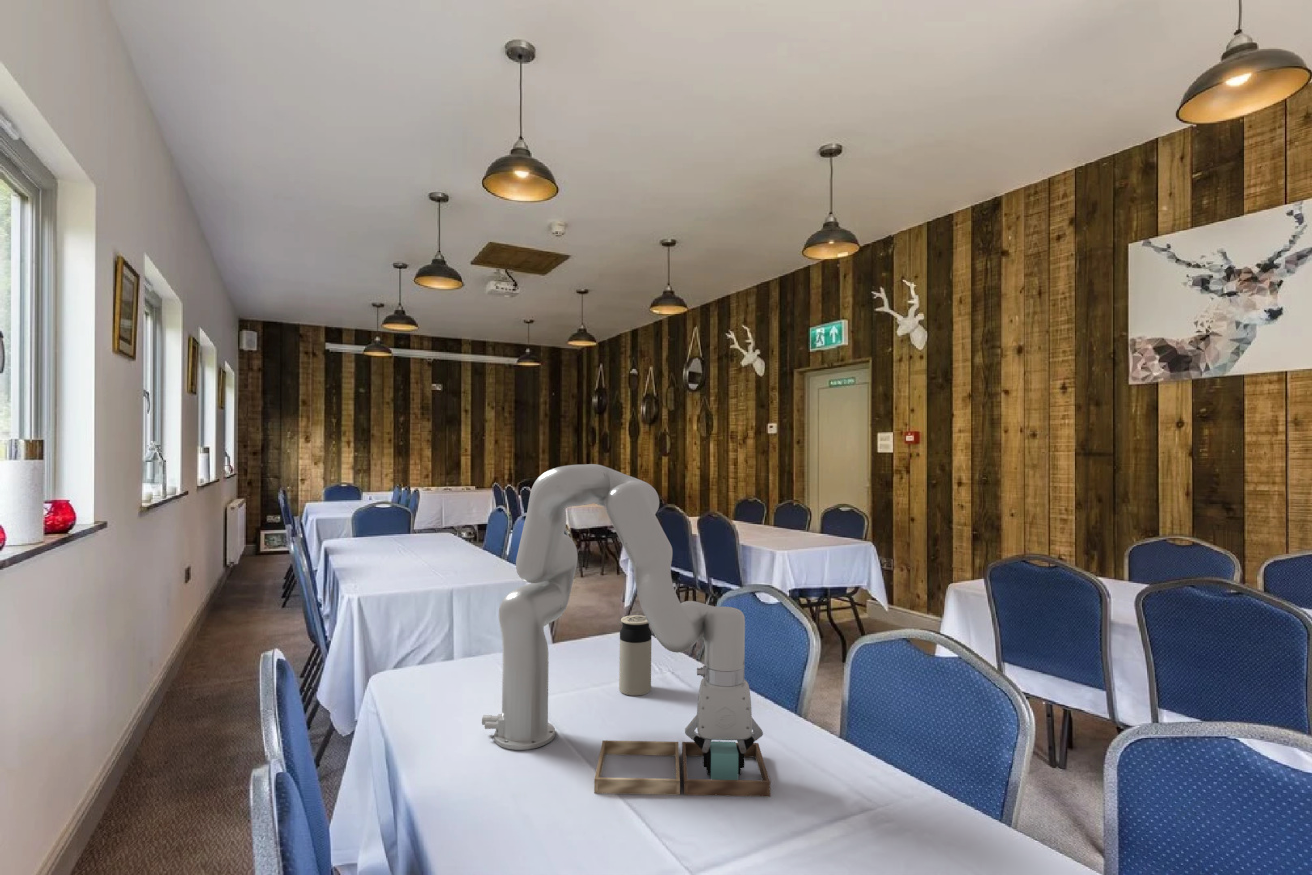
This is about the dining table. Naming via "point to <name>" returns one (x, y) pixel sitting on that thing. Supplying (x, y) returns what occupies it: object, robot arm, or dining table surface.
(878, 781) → the dining table surface
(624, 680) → the travel mug
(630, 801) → the dining table surface
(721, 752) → the teal cube
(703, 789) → the walnut tray
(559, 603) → the robot arm
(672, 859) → the dining table surface
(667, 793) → the oak tray
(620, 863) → the dining table surface
